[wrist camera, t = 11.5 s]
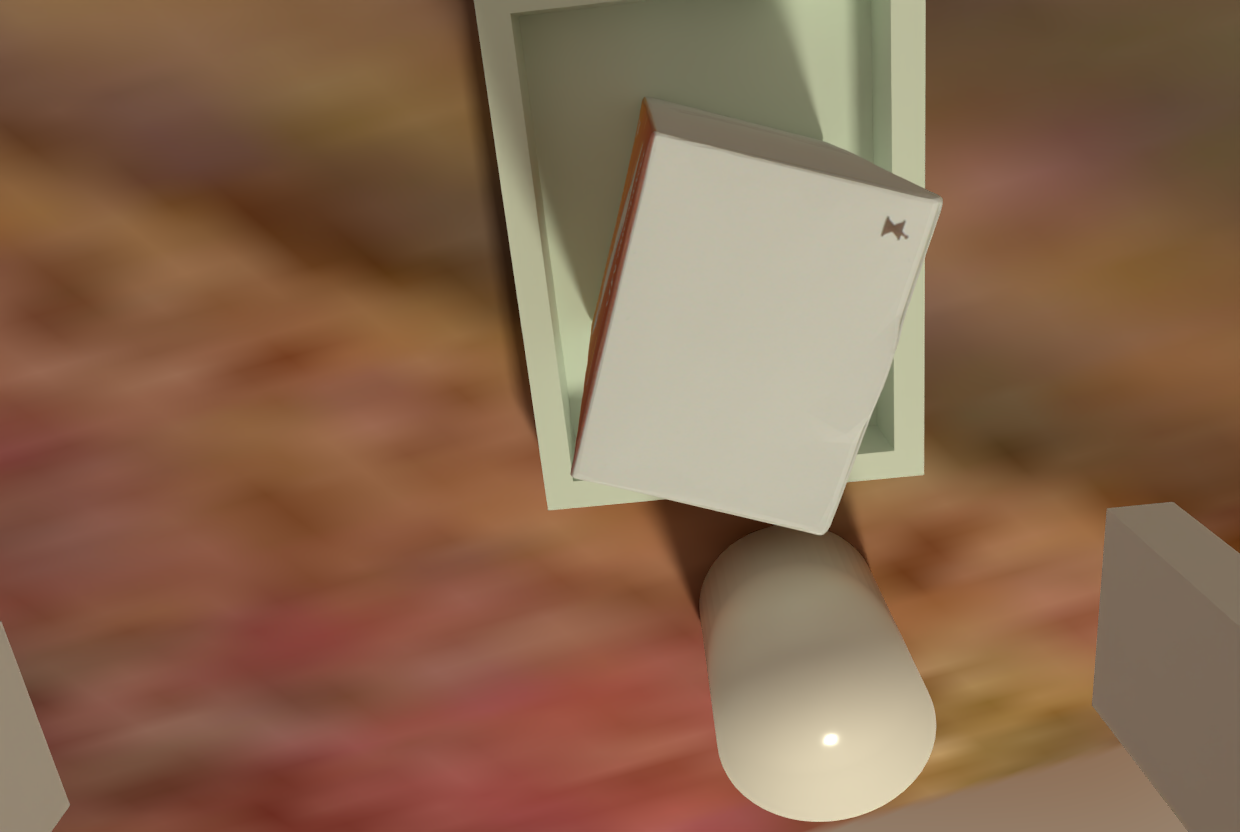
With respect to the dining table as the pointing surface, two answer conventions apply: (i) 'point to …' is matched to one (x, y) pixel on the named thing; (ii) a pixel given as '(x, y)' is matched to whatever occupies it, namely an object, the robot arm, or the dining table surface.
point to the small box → (746, 316)
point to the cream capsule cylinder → (810, 678)
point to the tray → (602, 145)
